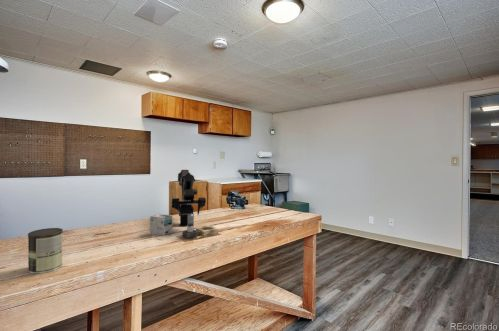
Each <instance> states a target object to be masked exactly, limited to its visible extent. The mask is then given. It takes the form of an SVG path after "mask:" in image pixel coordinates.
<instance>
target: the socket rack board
mask: <svg viewBox="0 0 499 331" xmlns="http://www.w3.org/2000/svg"><path fill="white" fill-rule="evenodd" d="M221 235H223V234H221V233H219V228H217V227H214V226H212V225H205V226H200V227H199V226H198V227H195V229H194V232H192V233H187V230H186V229H185V230H182V234H180V235H176V236H174V237H175V238H176V239H179V240H181V241H182V242H184V243H188V242H193V241H196V240H201V239H202V240H203V239H207V238H212V237H217V236H221Z"/></svg>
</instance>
